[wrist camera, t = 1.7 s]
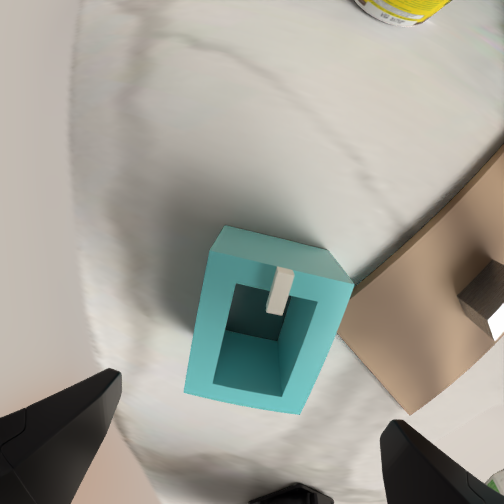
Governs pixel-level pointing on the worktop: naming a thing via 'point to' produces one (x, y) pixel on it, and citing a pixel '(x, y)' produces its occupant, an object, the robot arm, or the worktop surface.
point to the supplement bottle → (402, 10)
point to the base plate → (430, 296)
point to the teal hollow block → (280, 286)
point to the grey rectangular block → (486, 299)
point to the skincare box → (497, 482)
